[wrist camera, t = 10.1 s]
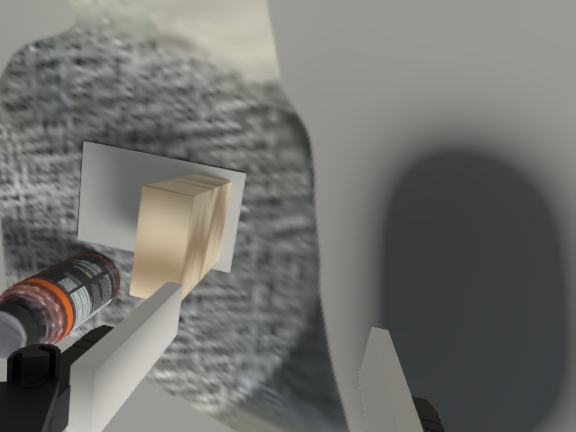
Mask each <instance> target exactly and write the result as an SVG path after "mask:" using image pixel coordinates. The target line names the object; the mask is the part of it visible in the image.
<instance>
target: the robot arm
mask: <svg viewBox="0 0 576 432" xmlns="http://www.w3.org/2000/svg"><path fill="white" fill-rule="evenodd" d="M182 290H183V284H179V283H174V282H170V281H168V282H166V283H165V284H164V285H163V286H162V287H161V288H159V289H158V290H157V291H156V292H155V293H154V294H153V295H151V296H150V297H149V298H148V299H147V300H146V301H144V302H143V303H142V304H141V305H140V306H139V307H138V308H136V309H135V310H134V311H133V312H132V313H131V314H129V315H128V316H127V317H126V318H125V319H124V320H123V321H121V322H120V323H119V324H118V325H117V326H116V327H111V326H107V325H102V326H100V327H98V328H95V329H93V330H90V331H89V332H88V333H87V334H85V335H84V336H83V337H82V338H81V339H80V340H78V341H77V342H75V343H74V344H73V345H72V346H70V347H69V348H68V349H67V350H65V351H64V352H63V353H61V350H60V349H59V348H58V347H57V346H54V345H52V344H33V345H29V346H26V347H23V348H20V349H18V350H16V351H15V352H13V353H12V354H11V355H10V356H9V357H8V358H7V382H0V432H62V431H63V430H64V429H65V428H66V427H67V431H66V432H101V431H102V430H103V429H104V427H105V426H106V425H107V423H108V422H109V421H110V420H111V419H112V417H113V416H114V415H115V413H116V412H117V411H118V410H119V408H120V407H121V406H122V404H123V403H124V402H125V401H126V399H127V398H128V397H129V395H130V394H131V393H132V392H133V390H134V389H135V388H136V386H137V385H138V384H139V383H140V381H141V380H142V379H143V377H144V376H145V375H146V374H147V372H148V371H149V370H150V369H151V367H152V366H153V365H154V363H155V362H156V361H157V360H158V358H159V357H160V356H161V354H162V353H163V352H164V351H165V349H166V348H167V347H168V345H169V344H170V343H171V342H172V340H173V339H174V338H175V336H176V335H177V327H178V320H179V312H180V305H181V298H182ZM358 380H359V387H360V393H361V400H362V407H363V413H364V419H365V426H366V432H445V430H444V427H443V426H442V422H441V420H440V418H439V415H438V413H437V411H436V410H435V409H434V407H433V406H432V405H431V404H430V403H429V402H428V401H427V400H426V399H422V398H417V397H413V396H411V394H410V391H409V388H408V386H407V383H406V381H405V377H404V374H403V371H402V369H401V366H400V363H399V360H398V357H397V355H396V352H395V349H394V346H393V343H392V340H391V337H390V335H389V332H388V330H384V329H379V328H375V327H372V328H371V332H370V335H369V339H368V343H367V347H366V350H365V354H364V358H363V362H362V365H361V369H360V373H359V377H358Z"/></svg>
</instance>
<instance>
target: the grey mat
mask: <svg viewBox="0 0 576 432" xmlns="http://www.w3.org/2000/svg"><path fill="white" fill-rule="evenodd" d="M193 174H198V175H203V176H207V177H212V178H217V179H221V180H226V181H230V182H231V188H230V194H229V200H228V206H227V212H226V217H225V223H224V229H223V235H222V241H221V247H220V252H219V258H218V261H217V263H216V264H215V265H214V266H213V267H212V268H211V269H215V270H219V271H224V272H228V273H230V271H231V265H232V259H233V253H234V246H235V240H236V234H237V228H238V222H239V216H240V209H241V203H242V197H243V191H244V185H245V179H246V173H243V172H238V171H233V170H228V169H223V168H218V167H213V166H208V165H203V164H198V163H193V162H188V161H183V160H178V159H173V158H168V157H163V156H158V155H153V154H148V153H143V152H138V151H133V150H128V149H123V148H118V147H113V146H108V145H103V144H98V143H93V142H88V141H84V142H83V158H82V175H81V191H80V207H79V224H78V240H82V241H86V242H91V243H95V244H100V245H105V246H109V247H114V248H118V249H123V250H127V251H132V252H135V244H136V235H137V226H138V218H139V209H140V200H141V192H142V186H143V185H147V184H152V183H157V182H161V181H166V180H170V179H175V178H180V177H184V176H189V175H193Z"/></svg>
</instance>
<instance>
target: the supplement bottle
mask: <svg viewBox="0 0 576 432" xmlns="http://www.w3.org/2000/svg"><path fill="white" fill-rule="evenodd" d="M119 288H120V278H119V274H118V272H117V270H116V268H115V267H114V265H113V264H112V263H111V262H110V261H109V260H108V259H106V258H105V257H103V256H101V255H98V254H94V253H85V254H80V255H78V256H75V257H73V258H71V259H68V260H66V261H64V262H62V263H60V264H58V265H55V266H53V267H51V268H49V269H47V270H45V271H42V272H40V273H38V274H36V275H34V276H31V277H29V278H27V279H25V280H23V281H21V282H19V283H17V284H14V285H13V286H11V287H9V288H8V289H7V290H5V291H4V292H3V294H2V295H1V296H0V358H2V359H7V358H8V357H9V356H10V355H11V354H12V353H13V352H15V351H16V350H18V349H20V348H23V347H26V346H29V345H33V344H52V345H54V344H56V343H57V342H59V341H60V340H61V339H62V338H64V337H65V336H67V335H68V334H70V333H71V332H72V331H74V330H75V329H76V328H77V327H79V326H80V325H82V324H83V323H84V322H85V321H87V320H88V319H89V318H91V317H92V316H93V315H95V314H97V312H98V311H100V310H101V309H103V308H104V307H105V306H106V305H108V304H109V303H110V302H111V301H112V300H113V299H114V298H115V297H116V295H117V294H118V292H119Z"/></svg>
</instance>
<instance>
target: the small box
mask: <svg viewBox="0 0 576 432" xmlns="http://www.w3.org/2000/svg"><path fill="white" fill-rule="evenodd" d="M230 188H231V182H230V181H226V180H221V179H217V178H212V177H207V176H203V175H198V174H193V175H189V176H184V177H180V178H175V179H170V180H166V181H161V182H157V183H152V184H147V185H143V186H142V192H141V200H140V209H139V218H138V226H137V235H136V244H135V252H134V261H133V269H132V278H131V287H130V295H132V296H137V297H141V298H145V299H148V298H149V297H150V296H151V295H153V294H154V293H155V292H156V291H157V290H158V289H159V288H161V287H162V286H163V285H164V284H165V283H166V282H168V281H170V282H174V283H179V284H183V290H182V298H181V301H182V300H183V299H184V297H185V296H186V295H187V294H188V293H189V292H190V291H191V290H192V289H193V288H194V287H195V285H196V284H197V283H198V282H199V281H200V280H201V279H202V278H203V277H204V276H205V275H206V273H207V272H208V271H209V270H210V269H211V268H212V267H213V266H214V265H215V264H216V263H217V261H218V258H219V252H220V247H221V241H222V235H223V229H224V223H225V217H226V212H227V206H228V200H229V194H230Z"/></svg>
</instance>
